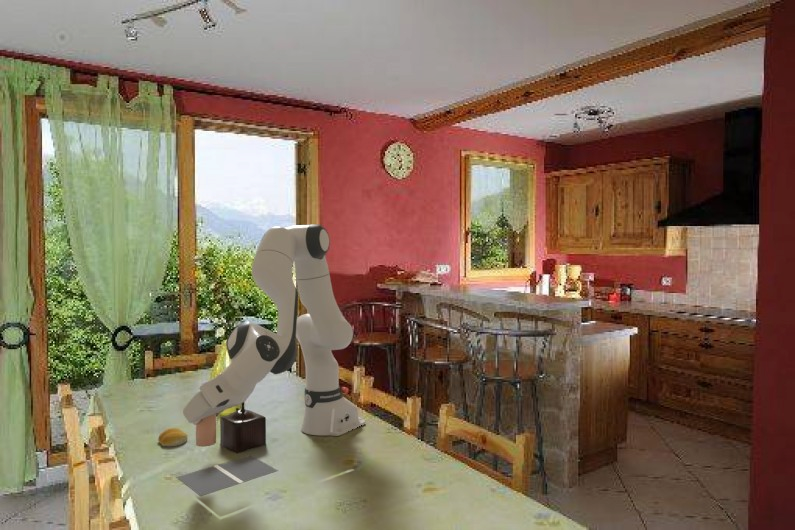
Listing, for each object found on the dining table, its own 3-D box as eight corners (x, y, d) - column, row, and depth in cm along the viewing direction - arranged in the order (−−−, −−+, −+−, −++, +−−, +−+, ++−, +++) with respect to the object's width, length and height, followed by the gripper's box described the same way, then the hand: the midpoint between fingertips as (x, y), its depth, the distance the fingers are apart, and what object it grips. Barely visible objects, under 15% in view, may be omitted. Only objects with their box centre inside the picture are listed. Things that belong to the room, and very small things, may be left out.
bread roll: (164, 449, 166) (164, 436, 166) (155, 441, 173) (155, 429, 173) (191, 443, 172) (191, 430, 172) (182, 435, 179) (181, 423, 178)
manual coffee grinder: (247, 437, 177) (247, 382, 176) (267, 446, 169) (266, 389, 168) (202, 450, 165) (202, 392, 165) (221, 460, 158) (220, 399, 157)
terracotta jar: (211, 438, 146) (211, 394, 146) (219, 443, 143) (219, 398, 142) (192, 442, 143) (192, 397, 142) (200, 448, 139) (200, 401, 139)
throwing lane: (250, 457, 160) (250, 455, 160) (278, 472, 150) (278, 470, 150) (176, 479, 145) (176, 476, 145) (200, 498, 134) (200, 495, 134)
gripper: (252, 368, 149) (225, 399, 153) (196, 385, 130) (167, 420, 134) (266, 386, 147) (237, 417, 151) (211, 406, 128) (180, 440, 133)
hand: (203, 418), depth 143 cm, fingers closed on terracotta jar, 5 cm apart
